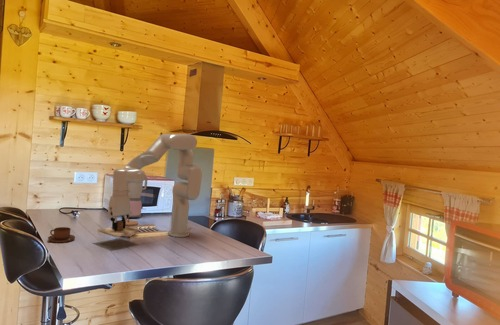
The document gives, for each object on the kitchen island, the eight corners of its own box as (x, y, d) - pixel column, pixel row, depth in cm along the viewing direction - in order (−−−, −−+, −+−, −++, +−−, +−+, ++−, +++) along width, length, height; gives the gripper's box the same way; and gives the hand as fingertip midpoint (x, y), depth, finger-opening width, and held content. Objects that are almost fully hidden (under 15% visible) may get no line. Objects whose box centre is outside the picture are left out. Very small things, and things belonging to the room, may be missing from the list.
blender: (126, 219, 233) (130, 172, 232) (119, 216, 241) (122, 170, 240) (148, 218, 243) (151, 173, 242) (140, 214, 252) (144, 171, 251)
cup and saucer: (44, 244, 166) (45, 231, 166) (51, 237, 178) (52, 225, 177) (71, 244, 169) (72, 232, 169) (77, 238, 181) (78, 226, 181)
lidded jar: (130, 239, 187) (132, 222, 186) (113, 236, 189) (114, 219, 189) (140, 235, 197) (142, 218, 197) (123, 232, 199) (125, 216, 199)
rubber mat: (119, 239, 186) (119, 238, 186) (139, 245, 177) (139, 244, 177) (92, 244, 172) (92, 243, 172) (111, 251, 164) (111, 250, 164)
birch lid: (121, 226, 185) (122, 216, 184) (138, 231, 177) (139, 221, 177) (97, 231, 173) (98, 220, 173) (115, 237, 165) (115, 226, 165)
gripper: (129, 190, 183) (128, 224, 184) (100, 193, 169) (99, 230, 170) (138, 192, 179) (137, 227, 180) (110, 195, 165) (108, 233, 166)
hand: (118, 228), depth 175 cm, fingers closed on birch lid, 4 cm apart
